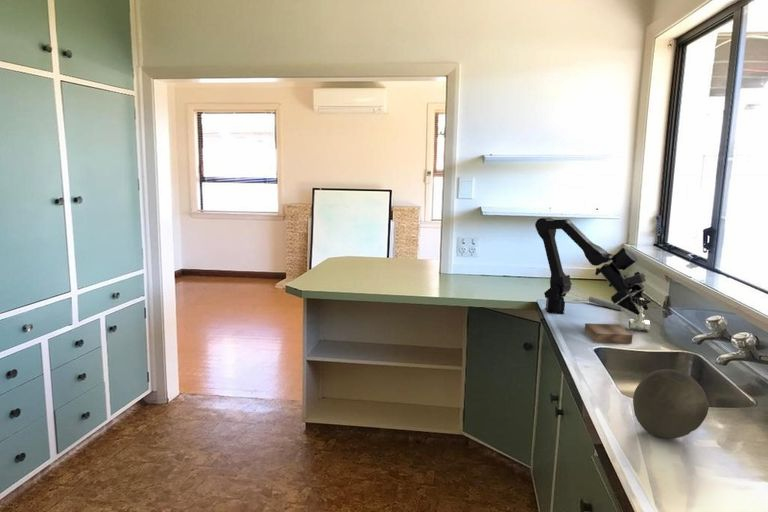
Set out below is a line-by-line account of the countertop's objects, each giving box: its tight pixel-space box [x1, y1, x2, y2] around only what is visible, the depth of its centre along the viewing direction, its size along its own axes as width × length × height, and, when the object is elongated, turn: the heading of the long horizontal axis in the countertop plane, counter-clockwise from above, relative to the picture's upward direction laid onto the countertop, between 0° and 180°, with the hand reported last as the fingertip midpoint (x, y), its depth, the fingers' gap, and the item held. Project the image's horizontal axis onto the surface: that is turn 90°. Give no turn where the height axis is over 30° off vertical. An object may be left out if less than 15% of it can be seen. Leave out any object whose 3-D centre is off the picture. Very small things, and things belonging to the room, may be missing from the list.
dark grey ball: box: [632, 368, 710, 440], centre depth 117 cm, size 14×14×15 cm
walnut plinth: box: [584, 323, 633, 344], centre depth 188 cm, size 12×12×3 cm
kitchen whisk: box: [565, 285, 625, 312], centre depth 235 cm, size 6×34×6 cm, turn 40°
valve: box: [627, 296, 652, 331], centre depth 196 cm, size 7×7×12 cm
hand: (643, 311), depth 195 cm, fingers open, 9 cm apart
